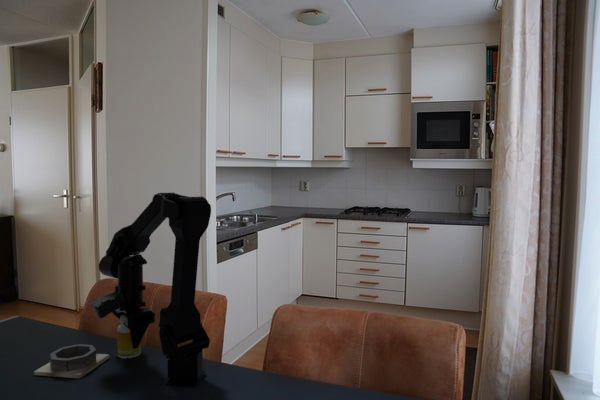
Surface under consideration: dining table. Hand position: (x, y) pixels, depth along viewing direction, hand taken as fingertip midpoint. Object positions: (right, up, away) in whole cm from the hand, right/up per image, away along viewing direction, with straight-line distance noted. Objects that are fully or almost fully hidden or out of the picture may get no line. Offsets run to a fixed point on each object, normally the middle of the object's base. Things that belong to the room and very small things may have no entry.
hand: (131, 343), depth 106 cm
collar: (-11, -3, -7) cm, 13 cm away
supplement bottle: (0, -3, 0) cm, 3 cm away
